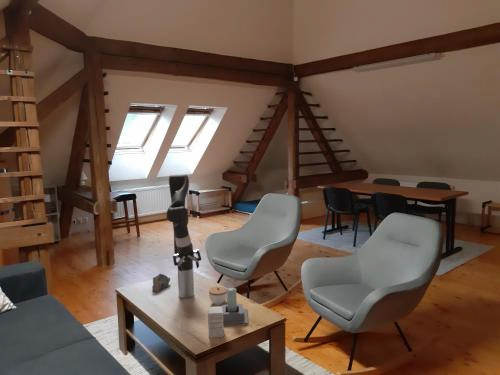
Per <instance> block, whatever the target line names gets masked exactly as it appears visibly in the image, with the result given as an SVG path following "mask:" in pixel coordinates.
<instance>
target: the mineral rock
mask: <svg viewBox="0 0 500 375" xmlns="http://www.w3.org/2000/svg"><path fill="white" fill-rule="evenodd" d="M170 281H171V278H170V277H169V276H167V275H165V274H162V273H159V274H157V275H156V276H153V278H152V291H154V292H160V291H161V290H163V289H165V287H167V286H168V285H169V283H170Z"/></svg>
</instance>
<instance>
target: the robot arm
mask: <svg viewBox="0 0 500 375" xmlns="http://www.w3.org/2000/svg"><path fill="white" fill-rule="evenodd" d="M189 179H190V178H189V176H188V175H187V174H170V175H169V177H168V185H169V193H170V199H171V200H170V202H171V204H170V205H169V207H168V208H167V211H166V220H167V221H169V222H170V223H172V229H173V247H174V248H173V251H174V252H173V254H172V259H173V260H172V261H173V266H176V267H177V287H178V288H177V289H178V297H179V298H181V299H190V298H192V297H194V296H195V283H194V282H195V280H194V264H193V263H194V262H195V267H196V269H199V267H200V261H202V256H201V251H200V249H199V248H197V249H196V250H195V249H194V248H193V247H194V246H193V243H192V239H191V236H190V234H189V228H188V224H189V211H188V209H187V208H186V198H187V194H188V193H189V192H188V191H189V188H190V180H189ZM195 254H196V255H197V256H195ZM178 258H179V260H178V261H177V259H178Z"/></svg>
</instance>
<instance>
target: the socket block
mask: <svg viewBox="0 0 500 375" xmlns="http://www.w3.org/2000/svg"><path fill="white" fill-rule="evenodd" d="M221 306H222V307H223V327H224V326H227V327H228V326H244V325H243V324H248V325H249V320H248V310H247V309H248V308H243V304H237V312H227V304H221Z"/></svg>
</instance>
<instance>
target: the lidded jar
mask: <svg viewBox="0 0 500 375" xmlns="http://www.w3.org/2000/svg"><path fill="white" fill-rule="evenodd" d="M227 289H228V288H227V287H225V286H213V287H211V288H209V290H208V295H209V299H210V301H211V302H212V303H213V305H216V306H222V305H224V304H225V302H227Z"/></svg>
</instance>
